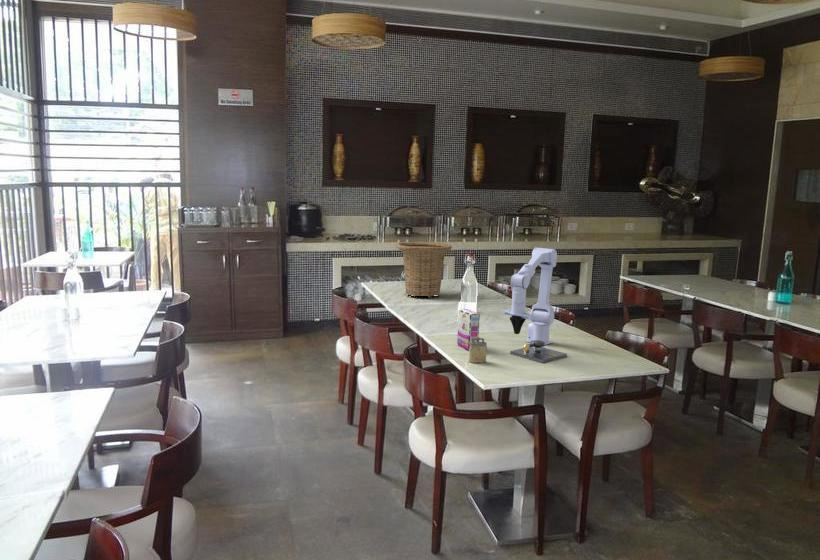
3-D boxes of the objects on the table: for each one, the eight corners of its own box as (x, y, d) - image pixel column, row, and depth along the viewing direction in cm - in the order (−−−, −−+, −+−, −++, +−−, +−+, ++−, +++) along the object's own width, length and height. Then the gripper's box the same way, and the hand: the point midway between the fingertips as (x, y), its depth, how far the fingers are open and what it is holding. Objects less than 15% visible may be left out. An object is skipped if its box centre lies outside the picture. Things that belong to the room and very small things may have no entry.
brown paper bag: (484, 360, 254) (485, 336, 253) (487, 363, 250) (488, 339, 249) (467, 360, 253) (468, 337, 252) (470, 363, 249) (471, 339, 248)
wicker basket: (425, 303, 372) (427, 248, 367) (384, 295, 395) (385, 243, 390) (460, 296, 398) (463, 245, 393) (419, 289, 421) (421, 240, 416)
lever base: (510, 353, 265) (510, 345, 265) (534, 347, 276) (535, 340, 276) (542, 363, 252) (542, 354, 252) (566, 356, 264) (567, 348, 263)
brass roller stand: (535, 347, 270) (536, 339, 269) (547, 350, 266) (547, 342, 265) (518, 351, 262) (519, 343, 262) (530, 354, 258) (530, 346, 257)
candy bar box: (478, 350, 270) (480, 313, 267) (468, 351, 268) (470, 314, 265) (466, 344, 280) (468, 308, 277) (456, 344, 278) (458, 309, 275)
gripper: (499, 300, 265) (497, 331, 267) (526, 306, 254) (524, 338, 256) (510, 298, 269) (508, 329, 271) (536, 304, 258) (535, 335, 260)
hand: (516, 333), depth 264 cm, fingers closed
